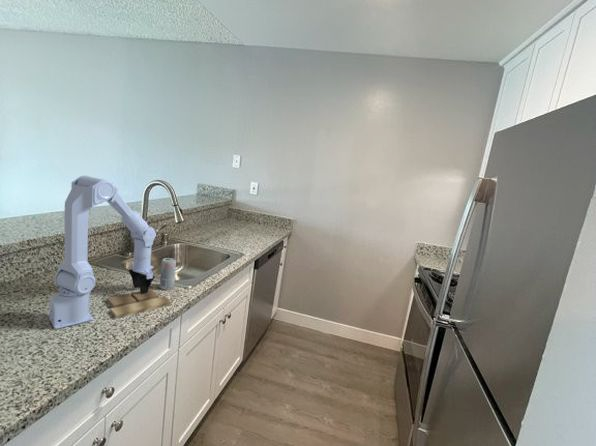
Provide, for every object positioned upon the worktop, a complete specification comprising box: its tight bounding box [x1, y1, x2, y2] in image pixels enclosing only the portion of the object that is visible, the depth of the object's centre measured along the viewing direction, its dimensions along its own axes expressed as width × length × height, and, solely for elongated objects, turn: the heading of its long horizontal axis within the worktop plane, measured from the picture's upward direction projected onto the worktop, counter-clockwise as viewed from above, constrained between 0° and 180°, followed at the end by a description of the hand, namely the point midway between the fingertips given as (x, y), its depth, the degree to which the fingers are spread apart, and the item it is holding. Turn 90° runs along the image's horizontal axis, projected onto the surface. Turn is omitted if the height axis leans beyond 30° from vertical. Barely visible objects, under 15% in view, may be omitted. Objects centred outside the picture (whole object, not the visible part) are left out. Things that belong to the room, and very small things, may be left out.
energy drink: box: [159, 257, 177, 291], centre depth 121 cm, size 5×5×12 cm
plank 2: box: [130, 288, 159, 303], centre depth 111 cm, size 7×7×1 cm
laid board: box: [109, 296, 172, 319], centre depth 104 cm, size 18×6×1 cm, turn 140°
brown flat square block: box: [106, 293, 137, 308], centre depth 105 cm, size 7×7×1 cm
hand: (140, 290), depth 114 cm, fingers open, 6 cm apart
